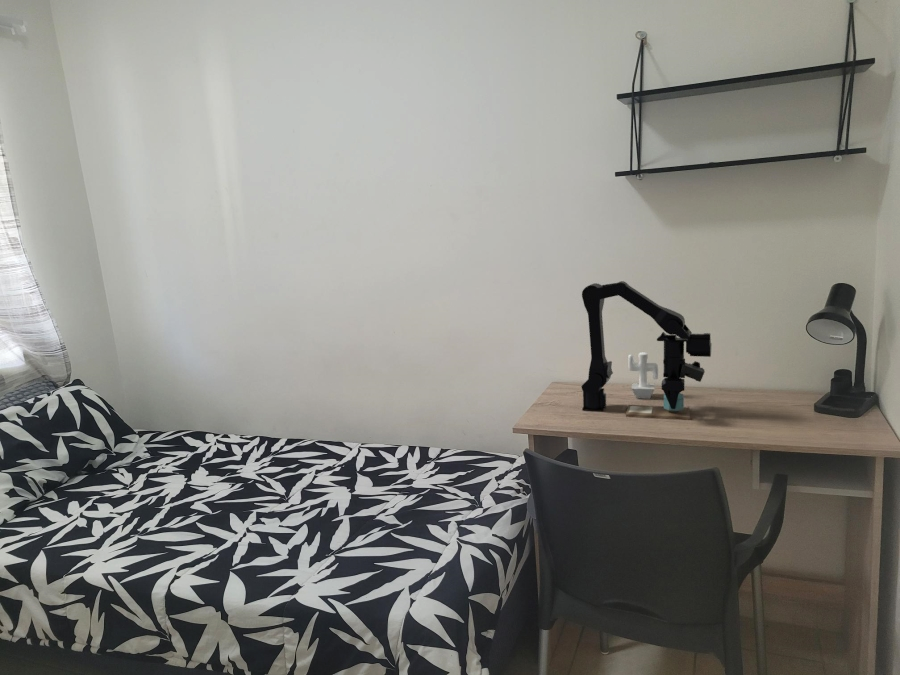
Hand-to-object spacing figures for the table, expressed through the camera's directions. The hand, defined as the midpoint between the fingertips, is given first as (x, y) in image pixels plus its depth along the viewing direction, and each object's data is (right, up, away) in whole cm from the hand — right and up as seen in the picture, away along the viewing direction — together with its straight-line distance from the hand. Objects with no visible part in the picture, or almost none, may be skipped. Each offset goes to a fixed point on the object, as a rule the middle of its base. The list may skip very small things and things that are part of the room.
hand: (673, 406), depth 187 cm
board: (-4, -2, +2) cm, 5 cm away
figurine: (-3, +1, +21) cm, 21 cm away
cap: (0, -1, 0) cm, 0 cm away
